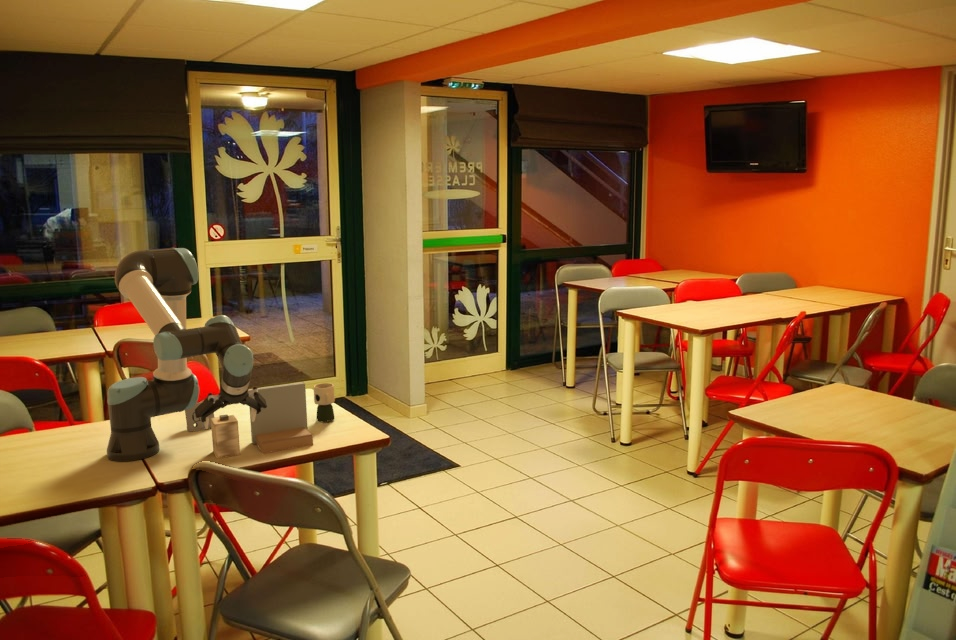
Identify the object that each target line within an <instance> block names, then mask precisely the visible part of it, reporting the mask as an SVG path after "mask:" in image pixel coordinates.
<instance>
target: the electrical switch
mask: <svg viewBox="0 0 956 640" xmlns="http://www.w3.org/2000/svg"><path fill="white" fill-rule="evenodd" d="M202 402H203V401H201V402H197V403H196V405H195V406H193V407H192V408H191V409H187V410H184V413H185V421H186V430H187V432H189V433H191V432H195V431H201V430H202V431H203V430H206V429H205V424H204V422H202V421H201V417H199V418H196V415H195V409H196V408H197V407H198V406H199V405H200V404H201V403H202ZM211 418H215V412H214V413H212V414H211V415H209V424H208V429H212V428H211ZM194 424H195V425H194ZM208 429H207V430H208Z"/></svg>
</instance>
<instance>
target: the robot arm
mask: <svg viewBox="0 0 956 640" xmlns="http://www.w3.org/2000/svg"><path fill="white" fill-rule="evenodd" d="M199 278H200V277H199V267H198V264H197V262H196V259H195V257H194V254H192V252H191V251H190V250H189V249H187V248H185V247H178V248H177V247H169V248H168V247H167V248H158V249H157V248H156V249H146V250H144V249H142V250H136V251H135V250H134V251H133V252H130V253H128V254H126V255H125V256H124V257H123V258H122V259H121V260H120V261H119V262H118V264H117V266H116V269H115V272H114V283H115V286H116V289H117V290H118V292H119V293H120V294H121V296H123V297H124V298H126V299H128V300H129V301H130V302H131V304H132V305H133V306H134V308H135V309H136V311H137V312H138V314H139V315H140V317H141V318H142V319H143V320H144V322H145V323H146V325H147V326H148V328H149V329H150V330H151V331H150V332H152V333H153V335H154V337H153V342H152V344H153V349H154V352H155V355H156V357H157V368H156V369H155V370H153V372H152V379H151V380H148V379H147V378H146V377H143V376H137V377H129V378H126V379H122V380H119V381H116V382H114V383H112V384H111V385H110V386H109V388H108V389H107V392H106V393H107V400H106V403H107V405H108V407H107V408H108V413H109V414H108V415H109V425H110V436H109V439H108V444H107V448H106V455H107V456H106V457H107V459H108V460H110V461H114V462H133V461H138V460H142V459H146V458H149V457H152V456H154V455H156V454H157V453H158V452H159V451H160V442H159V440H158V438H157V435H156V434H155V431H154V430H153V428H152V420H151V419H152V418H155V417H160V416H164V415H169V414H175V413H182V412H185V410H187V409H191V408H192V407H193V406H195V405H196V403H198V400H199V395H200V385H199V380H198V378H197V376H196V375H195V374H194V373H193V372H192V369H190V368H189V367H188V363H187V361H188V360H187V358H191V357H198V356H204V355H210V354H215V355H216V357H217V359H218V361H219V362H220V364H221V366H222V373H221V381H220V390H219V393H218V394H214V393H212V392H209V393H208V394H207V397H206V398H205V399H204V400H203V401H201V402H202V403H201V404H200V405H199V406H198V407H197V408H196V409H195V415H196V418H199V417H201V421H202V422H204V424H205V429H204V430H208V424H209V415H211V414H212V413H214V414H215V412H217V411H218V410H220V409H224V408H225V407H227V406H230V405H239V404H241V405H243V406H245V405H246V406H248V407H249V406H250V407H252V409H251V414H250V413H249V416H250V415H251V419H252V422H255V417H256V414H259V412H261V408H262V407H263V408H267V404H266V400H265V399H264V398H263V397H262V395H261V394H260V393H259V392H258V390H257V388H258V387H256V386H254V387H252V389H253V390H250V391H248V389H250V382H251V376H252V372H253V371H252V370H253V368H254V361H255V360H254V353H253V351H252V349H250V348H249V347H248V346H246V345H244V344H243V342H242V340H241V337H240V335H239V333H238V330H237V327H236V326H235V324H234V322H233V321H232V319H231V318H230V317H228V316H227V315H224V314H220V315H215V316H214V317H210V318H209V319H208V320H207V321H205V324H204V326H199V327H195V328H187V296H188V297H189V295H190V294H191V292H192V286H193V285H194V286H195V285H196V284H197V283H198V282H199ZM213 394H214V395H213ZM249 395H251V396H252V397H253V398H255V399H253V398H251V397H249ZM250 407H249V408H250Z"/></svg>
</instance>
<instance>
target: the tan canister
mask: <svg viewBox="0 0 956 640" xmlns="http://www.w3.org/2000/svg"><path fill="white" fill-rule="evenodd" d="M210 429H211V439H212V440H211V441H212V449H213V454H214V455H215V458H216V459H221V458H228V457H234V456H235V457H236V456H240V455H241V447H240V445H241V444H240V432H239V421H238V419H237V418H236V416H235V415H234V414H231V415H228V414H222V415H221V414H219V416H217V417H214V418H211V428H210Z"/></svg>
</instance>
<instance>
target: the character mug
mask: <svg viewBox="0 0 956 640" xmlns="http://www.w3.org/2000/svg"><path fill="white" fill-rule="evenodd" d="M335 398H336V397H335V384H333V383H331V382H322V383H316V384H314V385H313V401H314V404H315V405H317V407H316V421H317V422H320V423H328V422H330V421H334V420H335V419H336V417H335V411H334V407H333V405H332V404H334V403H335V401H336V399H335Z"/></svg>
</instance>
